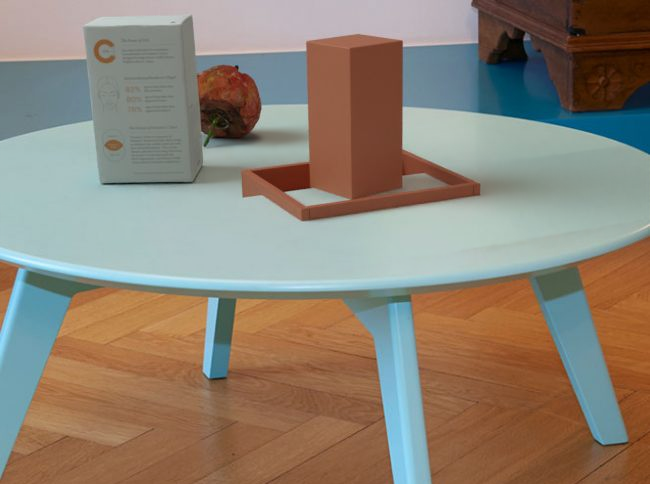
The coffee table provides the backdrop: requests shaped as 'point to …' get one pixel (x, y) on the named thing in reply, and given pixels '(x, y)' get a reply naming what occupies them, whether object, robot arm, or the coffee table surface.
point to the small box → (144, 98)
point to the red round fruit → (227, 102)
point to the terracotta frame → (298, 178)
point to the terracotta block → (355, 114)
